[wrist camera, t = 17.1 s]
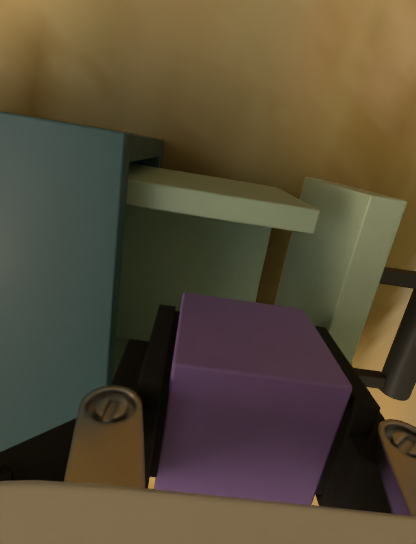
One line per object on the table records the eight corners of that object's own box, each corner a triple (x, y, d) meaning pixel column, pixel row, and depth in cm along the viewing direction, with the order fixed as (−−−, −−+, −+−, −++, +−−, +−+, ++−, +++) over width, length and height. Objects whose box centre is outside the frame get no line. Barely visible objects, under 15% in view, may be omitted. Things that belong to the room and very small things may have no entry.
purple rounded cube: (183, 291, 11) (172, 364, 7) (304, 308, 11) (354, 387, 8) (168, 393, 12) (152, 500, 9) (277, 407, 13) (308, 516, 9)
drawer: (416, 194, 18) (550, 224, 11) (351, 379, 22) (420, 487, 15) (55, 135, 17) (-50, 125, 10) (53, 341, 20) (-24, 439, 13)
